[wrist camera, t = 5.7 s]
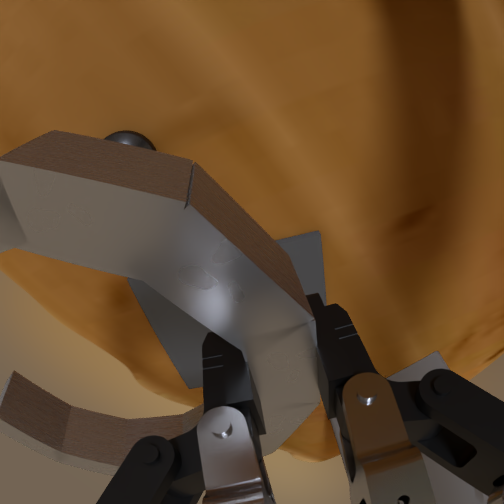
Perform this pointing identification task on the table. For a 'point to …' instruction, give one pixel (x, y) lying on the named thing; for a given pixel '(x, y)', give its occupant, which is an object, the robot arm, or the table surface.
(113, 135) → the peg stand
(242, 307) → the steel ring
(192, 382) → the rubber mat
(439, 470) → the tall grey upright block
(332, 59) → the table surface
